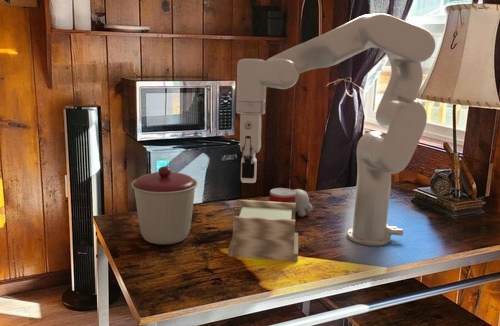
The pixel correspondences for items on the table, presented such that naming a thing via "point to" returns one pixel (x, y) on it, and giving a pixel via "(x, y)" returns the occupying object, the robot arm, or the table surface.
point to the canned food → (282, 195)
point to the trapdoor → (266, 212)
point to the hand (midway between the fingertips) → (248, 174)
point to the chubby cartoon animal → (302, 203)
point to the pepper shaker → (253, 180)
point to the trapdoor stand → (264, 234)
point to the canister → (164, 205)
